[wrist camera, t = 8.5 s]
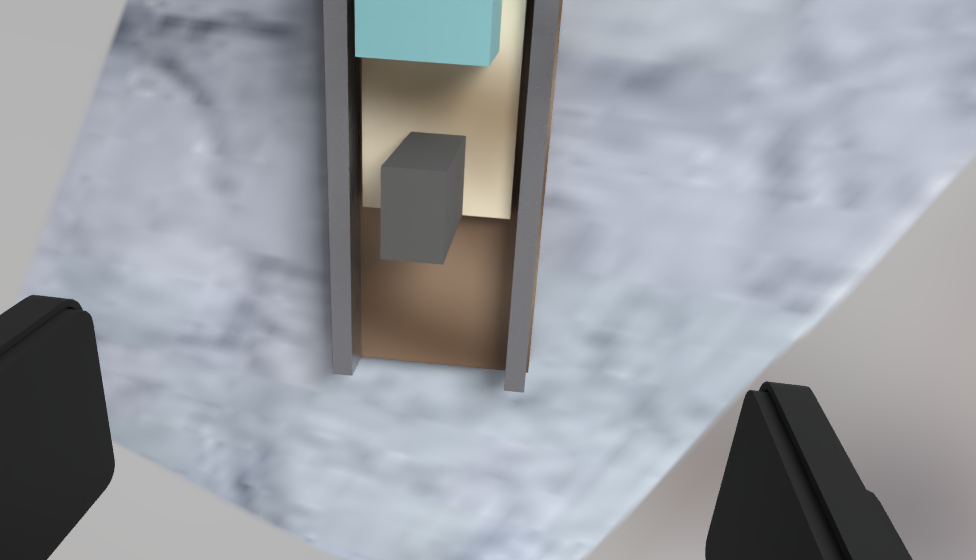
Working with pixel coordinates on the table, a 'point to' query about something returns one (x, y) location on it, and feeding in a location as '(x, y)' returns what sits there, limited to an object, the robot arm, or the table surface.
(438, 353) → the board
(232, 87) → the table surface
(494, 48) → the cube
